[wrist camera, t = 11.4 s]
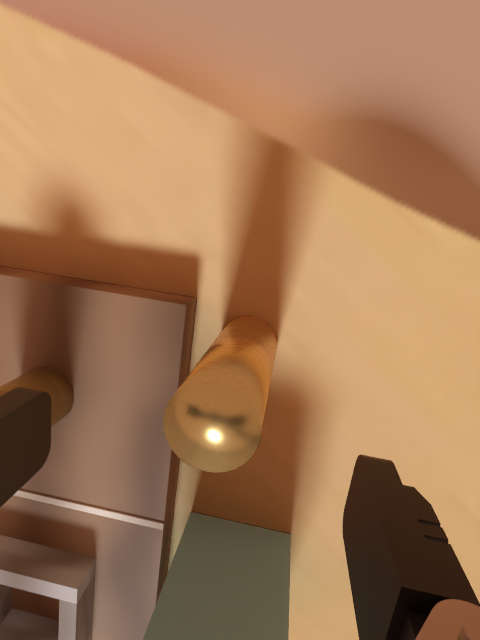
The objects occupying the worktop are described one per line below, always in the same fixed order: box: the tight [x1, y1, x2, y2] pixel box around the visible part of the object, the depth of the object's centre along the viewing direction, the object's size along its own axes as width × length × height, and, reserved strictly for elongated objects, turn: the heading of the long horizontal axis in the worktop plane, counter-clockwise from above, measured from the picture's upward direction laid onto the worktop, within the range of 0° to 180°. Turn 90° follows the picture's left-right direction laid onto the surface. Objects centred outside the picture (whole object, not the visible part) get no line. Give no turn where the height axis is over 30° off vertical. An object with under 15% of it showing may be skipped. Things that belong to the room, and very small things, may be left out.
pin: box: [163, 316, 277, 473], centre depth 16 cm, size 3×3×9 cm
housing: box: [143, 512, 291, 640], centre depth 19 cm, size 6×6×9 cm
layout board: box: [0, 266, 197, 640], centre depth 20 cm, size 14×26×8 cm, turn 172°
